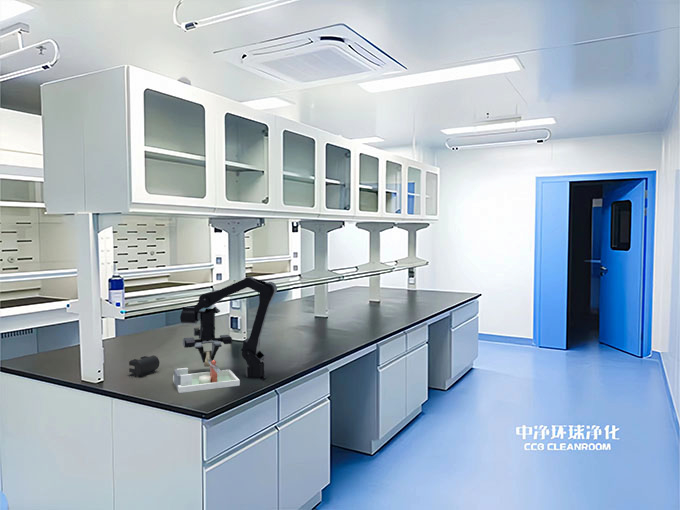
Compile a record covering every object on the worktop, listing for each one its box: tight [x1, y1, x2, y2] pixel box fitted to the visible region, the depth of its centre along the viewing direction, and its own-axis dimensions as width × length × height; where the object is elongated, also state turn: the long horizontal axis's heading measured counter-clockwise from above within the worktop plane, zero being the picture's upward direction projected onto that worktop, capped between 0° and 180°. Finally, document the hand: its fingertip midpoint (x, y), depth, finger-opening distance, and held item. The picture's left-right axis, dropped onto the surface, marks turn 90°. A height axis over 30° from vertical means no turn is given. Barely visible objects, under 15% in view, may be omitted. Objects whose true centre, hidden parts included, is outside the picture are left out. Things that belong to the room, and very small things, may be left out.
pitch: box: [172, 367, 241, 394], centre depth 186 cm, size 22×16×6 cm
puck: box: [199, 375, 211, 384], centre depth 186 cm, size 4×4×2 cm
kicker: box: [203, 349, 221, 383], centre depth 189 cm, size 3×22×9 cm, turn 26°
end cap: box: [128, 355, 160, 378], centre depth 200 cm, size 10×7×7 cm
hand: (207, 362), depth 197 cm, fingers closed on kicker, 3 cm apart
